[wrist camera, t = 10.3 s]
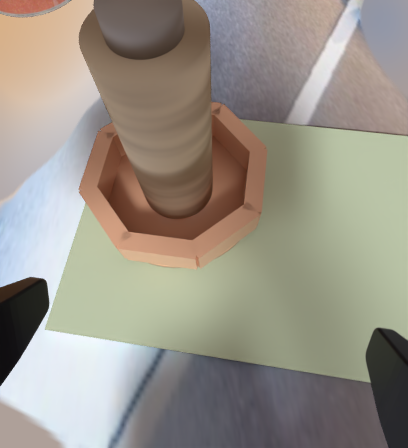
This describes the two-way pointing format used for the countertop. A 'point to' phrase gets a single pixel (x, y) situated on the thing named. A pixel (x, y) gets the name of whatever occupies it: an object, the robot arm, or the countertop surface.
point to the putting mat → (268, 265)
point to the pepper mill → (157, 94)
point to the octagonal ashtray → (187, 227)
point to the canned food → (29, 7)
